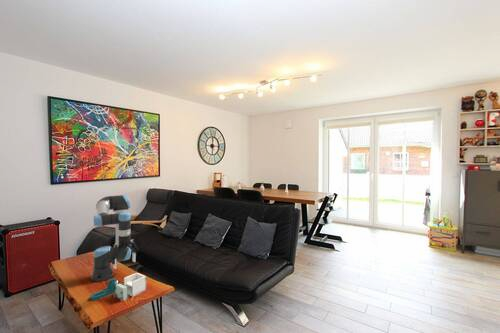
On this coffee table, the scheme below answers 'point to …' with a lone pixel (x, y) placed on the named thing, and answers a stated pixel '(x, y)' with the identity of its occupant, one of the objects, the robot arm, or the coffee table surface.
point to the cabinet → (135, 284)
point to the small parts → (115, 292)
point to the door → (121, 291)
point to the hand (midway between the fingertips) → (124, 265)
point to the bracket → (105, 290)
